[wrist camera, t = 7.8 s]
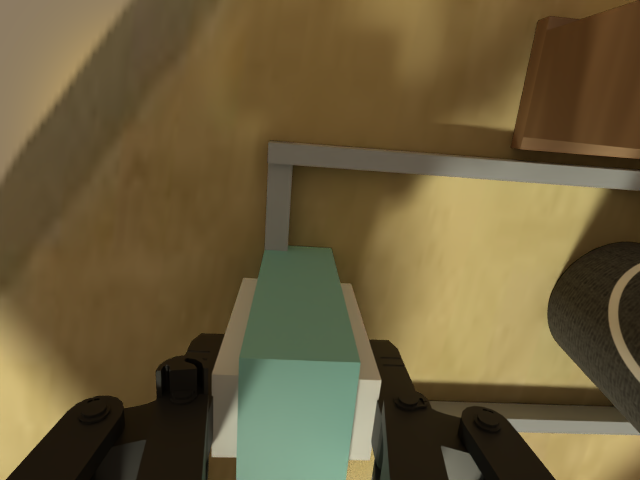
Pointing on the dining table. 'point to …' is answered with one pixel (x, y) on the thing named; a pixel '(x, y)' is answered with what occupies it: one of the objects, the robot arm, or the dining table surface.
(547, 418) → the grey rectangular frame
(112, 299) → the dining table surface
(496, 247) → the dining table surface
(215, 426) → the robot arm
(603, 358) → the coffee cup
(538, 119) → the wooden l-shaped block
